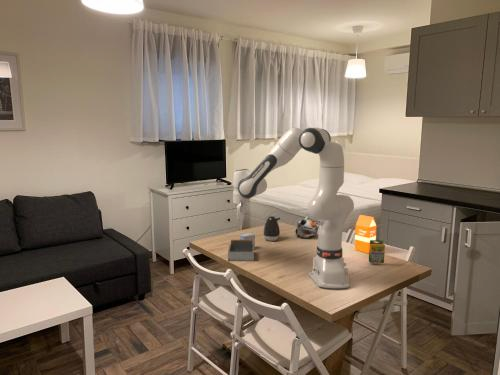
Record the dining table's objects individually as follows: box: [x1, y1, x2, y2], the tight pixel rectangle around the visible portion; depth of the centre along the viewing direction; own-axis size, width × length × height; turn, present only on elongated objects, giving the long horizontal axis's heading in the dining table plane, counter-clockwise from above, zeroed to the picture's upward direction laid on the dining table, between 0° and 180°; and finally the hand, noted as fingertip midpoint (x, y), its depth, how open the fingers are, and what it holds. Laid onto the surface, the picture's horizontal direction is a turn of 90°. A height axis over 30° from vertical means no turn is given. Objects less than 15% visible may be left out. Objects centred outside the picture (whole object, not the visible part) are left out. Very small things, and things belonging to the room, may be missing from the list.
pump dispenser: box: [263, 215, 281, 242], centre depth 237 cm, size 10×10×15 cm
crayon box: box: [368, 239, 386, 264], centre depth 198 cm, size 7×3×12 cm, turn 89°
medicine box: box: [239, 232, 256, 250], centre depth 219 cm, size 8×4×9 cm, turn 130°
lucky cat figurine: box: [294, 218, 320, 239], centre depth 243 cm, size 15×12×14 cm
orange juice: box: [354, 214, 377, 254], centre depth 218 cm, size 8×9×20 cm
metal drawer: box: [227, 239, 255, 262], centre depth 206 cm, size 14×14×8 cm
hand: (241, 224), depth 204 cm, fingers open, 7 cm apart
